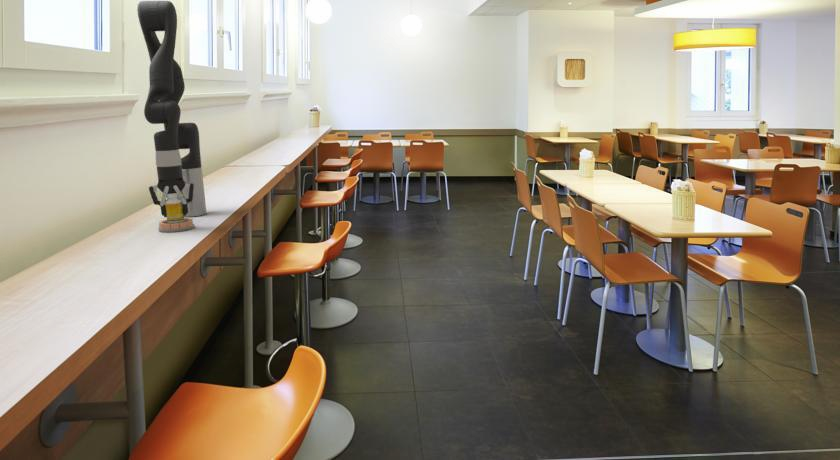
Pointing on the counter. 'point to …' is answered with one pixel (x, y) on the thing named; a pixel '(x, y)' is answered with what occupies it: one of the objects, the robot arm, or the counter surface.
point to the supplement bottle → (174, 208)
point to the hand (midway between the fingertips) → (175, 215)
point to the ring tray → (176, 226)
